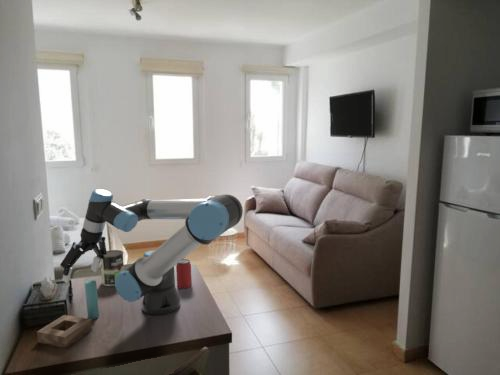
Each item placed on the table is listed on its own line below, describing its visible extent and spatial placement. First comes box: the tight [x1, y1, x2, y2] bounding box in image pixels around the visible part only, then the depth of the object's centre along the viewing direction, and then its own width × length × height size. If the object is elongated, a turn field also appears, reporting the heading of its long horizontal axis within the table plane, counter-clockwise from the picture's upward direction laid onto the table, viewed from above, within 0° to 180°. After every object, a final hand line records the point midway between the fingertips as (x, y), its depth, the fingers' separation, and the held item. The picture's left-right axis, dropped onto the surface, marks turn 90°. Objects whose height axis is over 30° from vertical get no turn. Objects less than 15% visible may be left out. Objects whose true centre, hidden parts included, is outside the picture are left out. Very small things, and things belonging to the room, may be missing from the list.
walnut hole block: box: [36, 314, 92, 349], centre depth 131 cm, size 12×12×4 cm
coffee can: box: [100, 249, 125, 287], centre depth 175 cm, size 10×10×14 cm
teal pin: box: [84, 279, 100, 320], centre depth 143 cm, size 4×4×14 cm
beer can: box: [175, 258, 193, 290], centre depth 170 cm, size 7×7×12 cm
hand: (80, 275), depth 146 cm, fingers open, 13 cm apart
